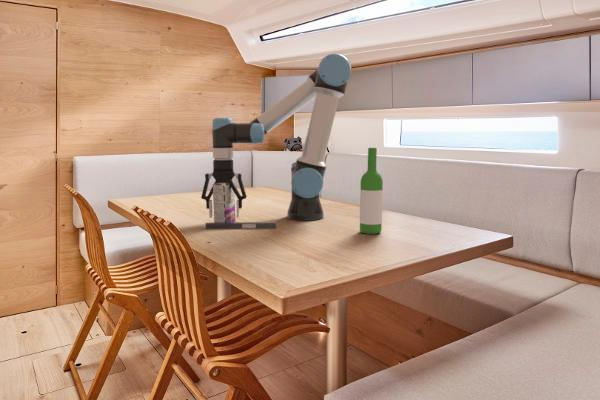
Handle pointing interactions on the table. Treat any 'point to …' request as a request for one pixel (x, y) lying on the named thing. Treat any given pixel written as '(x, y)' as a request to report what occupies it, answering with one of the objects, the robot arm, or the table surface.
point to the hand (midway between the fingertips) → (224, 216)
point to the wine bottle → (371, 197)
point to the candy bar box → (223, 203)
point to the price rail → (240, 225)
